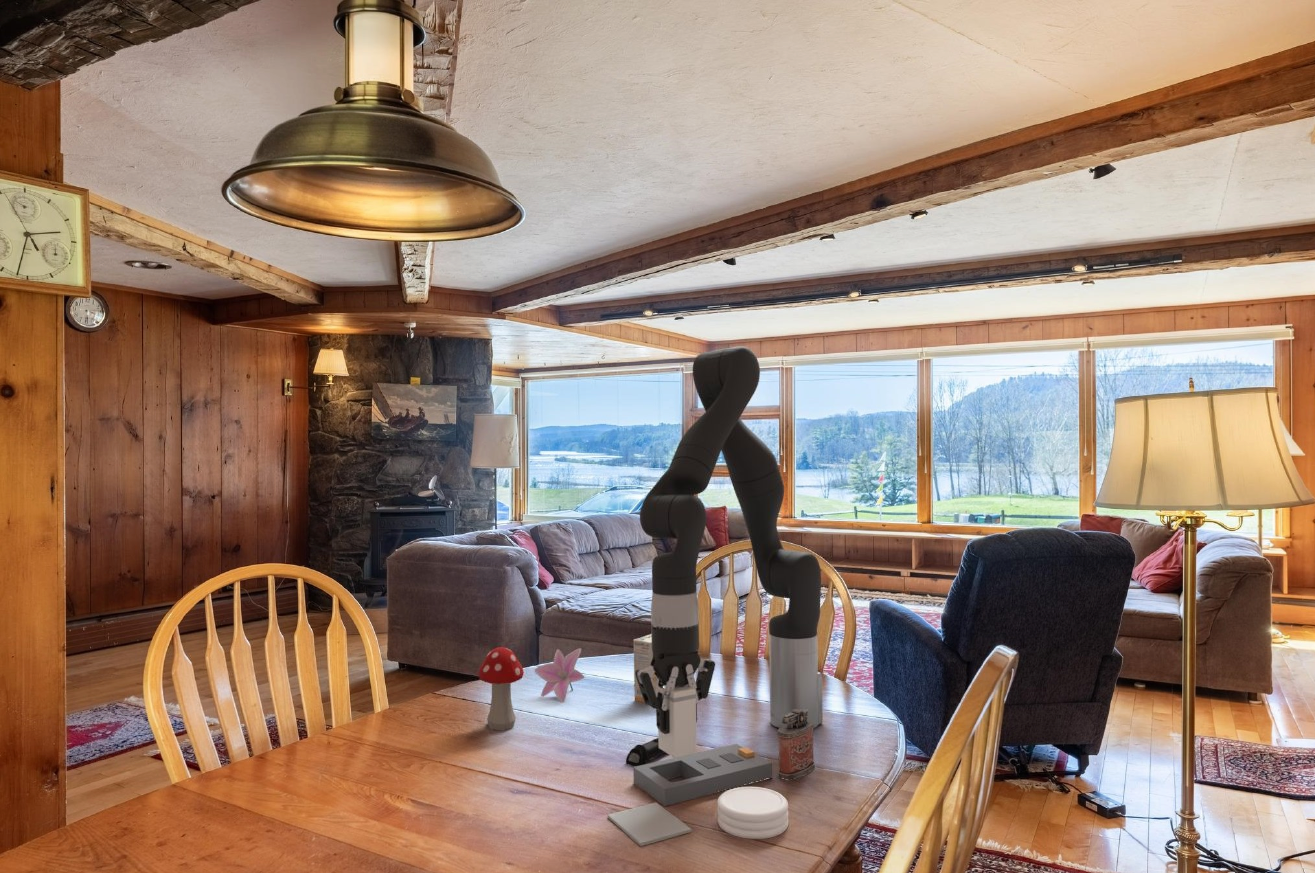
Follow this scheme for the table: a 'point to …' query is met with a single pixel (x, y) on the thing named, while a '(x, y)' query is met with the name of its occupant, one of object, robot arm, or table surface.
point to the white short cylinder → (752, 812)
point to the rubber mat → (649, 824)
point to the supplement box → (642, 661)
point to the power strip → (701, 773)
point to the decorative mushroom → (501, 685)
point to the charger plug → (680, 723)
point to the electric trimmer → (643, 753)
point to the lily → (560, 674)
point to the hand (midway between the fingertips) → (676, 729)
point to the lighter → (796, 745)
